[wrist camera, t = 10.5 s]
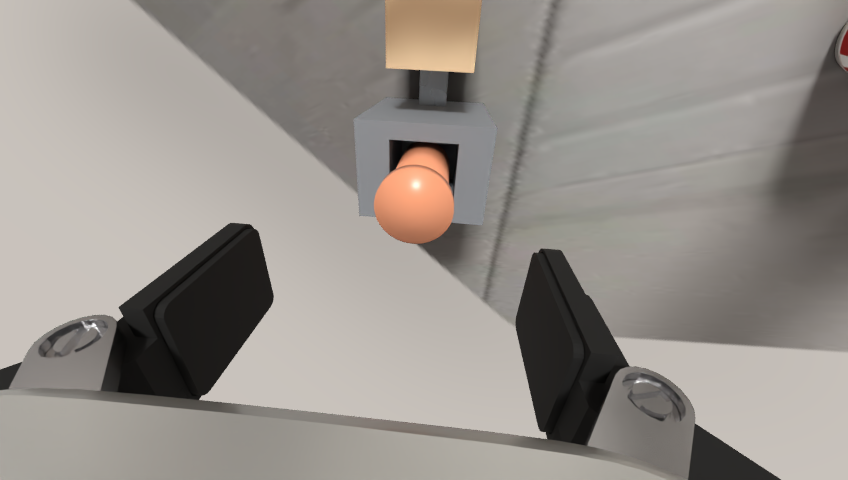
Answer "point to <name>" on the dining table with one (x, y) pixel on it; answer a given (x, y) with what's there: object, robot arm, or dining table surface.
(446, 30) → the block
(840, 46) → the soda can
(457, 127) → the end cabinet
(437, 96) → the grey slide rail
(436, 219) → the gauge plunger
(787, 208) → the dining table surface
